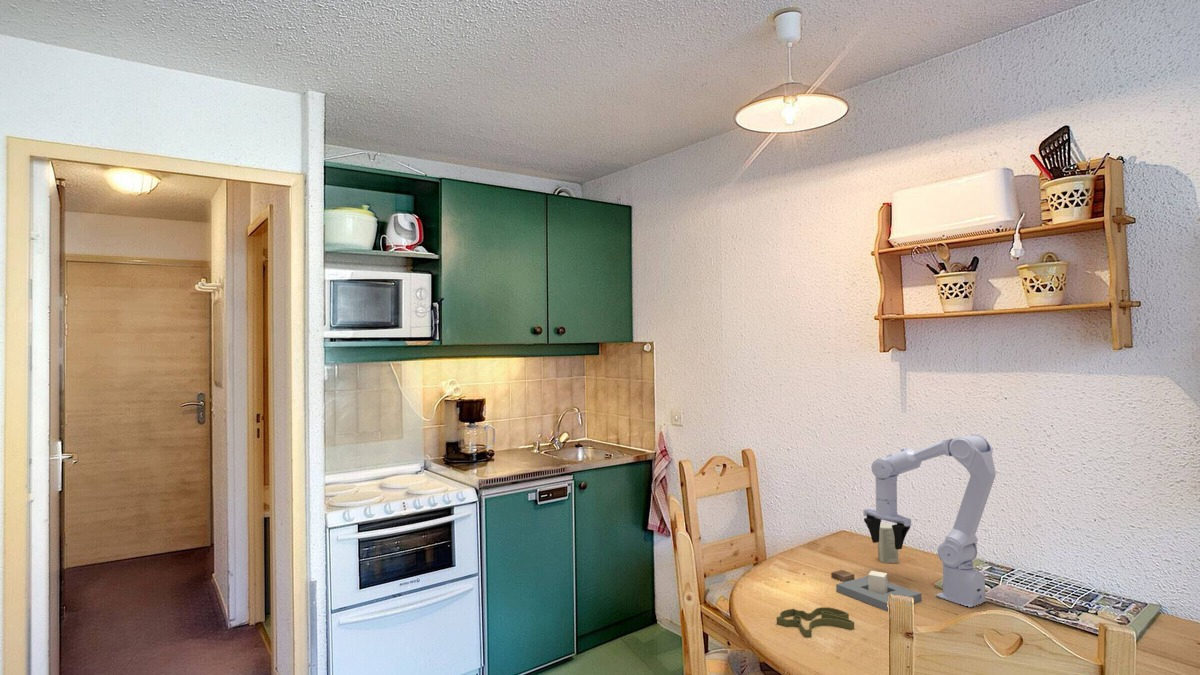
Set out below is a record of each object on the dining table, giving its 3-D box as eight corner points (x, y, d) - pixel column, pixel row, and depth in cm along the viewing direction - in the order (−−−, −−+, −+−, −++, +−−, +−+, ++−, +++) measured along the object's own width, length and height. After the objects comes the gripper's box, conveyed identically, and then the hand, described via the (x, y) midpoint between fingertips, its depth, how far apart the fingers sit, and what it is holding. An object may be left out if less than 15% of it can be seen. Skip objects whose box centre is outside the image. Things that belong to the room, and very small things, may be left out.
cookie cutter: (799, 640, 147) (799, 632, 147) (769, 620, 158) (769, 612, 158) (862, 629, 153) (862, 621, 153) (829, 611, 164) (829, 603, 164)
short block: (854, 581, 186) (854, 574, 187) (844, 583, 184) (844, 576, 184) (841, 576, 190) (841, 569, 190) (831, 579, 188) (831, 572, 188)
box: (894, 559, 206) (893, 524, 206) (898, 563, 201) (898, 527, 202) (877, 558, 206) (876, 524, 206) (881, 562, 202) (881, 527, 202)
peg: (887, 595, 174) (887, 573, 174) (884, 600, 171) (884, 577, 171) (871, 592, 176) (871, 570, 177) (868, 596, 173) (868, 574, 173)
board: (921, 600, 170) (921, 593, 170) (887, 611, 163) (887, 603, 163) (869, 582, 184) (869, 575, 184) (836, 591, 177) (836, 584, 177)
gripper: (917, 502, 185) (918, 549, 184) (873, 493, 197) (874, 537, 197) (902, 505, 181) (902, 553, 181) (858, 495, 194) (859, 540, 193)
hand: (887, 545), depth 188 cm, fingers open, 7 cm apart
